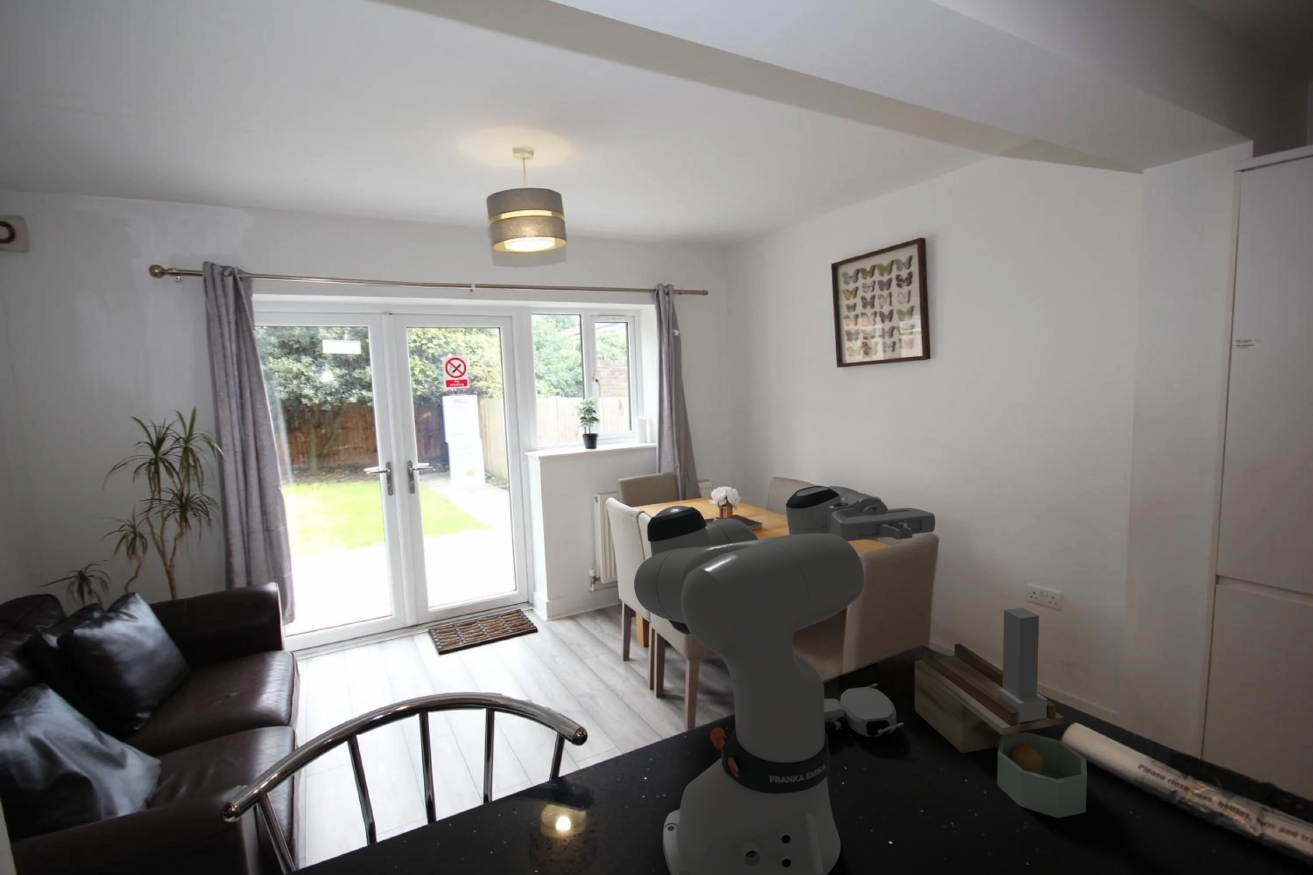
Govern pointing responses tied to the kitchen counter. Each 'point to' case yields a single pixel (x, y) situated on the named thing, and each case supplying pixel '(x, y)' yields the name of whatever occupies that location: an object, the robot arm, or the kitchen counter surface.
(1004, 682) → the tall post on base
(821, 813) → the robot arm
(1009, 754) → the green octagonal bowl
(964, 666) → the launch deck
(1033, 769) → the ball
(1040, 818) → the kitchen counter surface
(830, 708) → the robot toy
